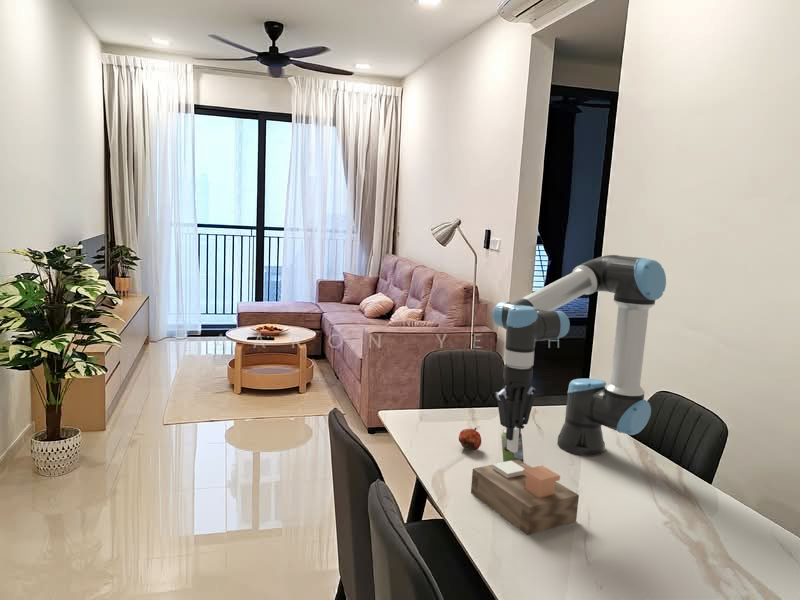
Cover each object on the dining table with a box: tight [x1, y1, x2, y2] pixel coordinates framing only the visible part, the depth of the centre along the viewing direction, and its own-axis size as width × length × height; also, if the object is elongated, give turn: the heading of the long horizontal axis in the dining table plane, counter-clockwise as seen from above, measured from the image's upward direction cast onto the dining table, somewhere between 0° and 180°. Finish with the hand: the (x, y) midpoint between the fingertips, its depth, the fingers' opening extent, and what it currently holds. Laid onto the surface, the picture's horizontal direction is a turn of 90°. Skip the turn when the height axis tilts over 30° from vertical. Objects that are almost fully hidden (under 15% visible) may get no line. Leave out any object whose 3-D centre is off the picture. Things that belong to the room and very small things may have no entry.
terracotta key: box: [523, 465, 561, 498], centre depth 151 cm, size 6×6×8 cm
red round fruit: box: [458, 427, 482, 454], centre depth 192 cm, size 7×7×10 cm
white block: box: [492, 461, 524, 478], centre depth 162 cm, size 6×6×8 cm
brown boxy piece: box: [470, 459, 580, 536], centre depth 157 cm, size 16×23×7 cm
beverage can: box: [501, 428, 525, 463], centre depth 180 cm, size 6×7×12 cm
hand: (512, 450), depth 161 cm, fingers closed
